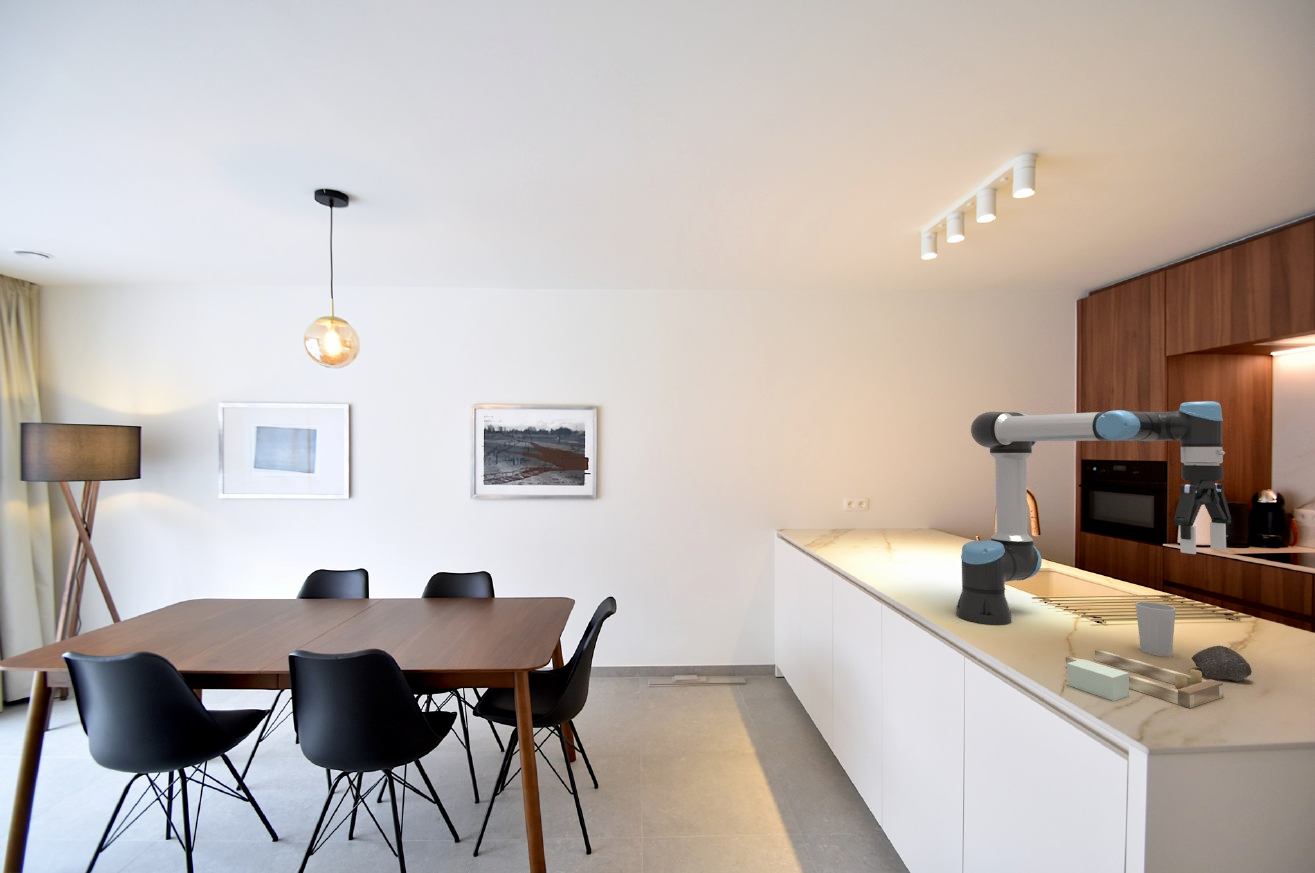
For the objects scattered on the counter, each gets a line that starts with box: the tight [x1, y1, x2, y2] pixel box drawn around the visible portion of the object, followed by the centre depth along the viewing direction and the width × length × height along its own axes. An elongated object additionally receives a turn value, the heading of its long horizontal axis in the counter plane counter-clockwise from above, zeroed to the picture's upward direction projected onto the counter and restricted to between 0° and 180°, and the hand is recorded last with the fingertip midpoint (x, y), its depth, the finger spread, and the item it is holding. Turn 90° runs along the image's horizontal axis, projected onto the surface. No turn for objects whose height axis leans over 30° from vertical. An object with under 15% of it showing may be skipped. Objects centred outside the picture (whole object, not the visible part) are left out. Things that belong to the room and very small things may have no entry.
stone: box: [1191, 645, 1253, 682], centre depth 134 cm, size 10×8×10 cm
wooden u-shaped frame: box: [1065, 648, 1224, 709], centre depth 131 cm, size 24×13×5 cm, turn 24°
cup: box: [1135, 601, 1177, 658], centre depth 150 cm, size 8×8×12 cm
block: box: [1066, 658, 1130, 702], centre depth 126 cm, size 9×6×5 cm, turn 25°
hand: (1203, 551), depth 141 cm, fingers open, 13 cm apart
